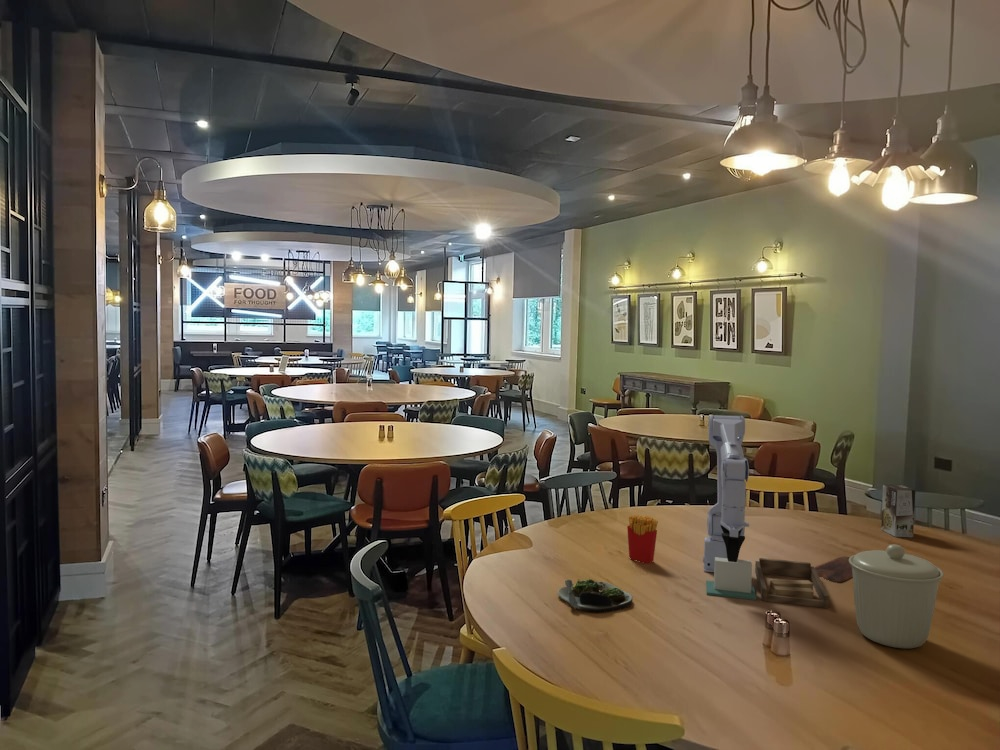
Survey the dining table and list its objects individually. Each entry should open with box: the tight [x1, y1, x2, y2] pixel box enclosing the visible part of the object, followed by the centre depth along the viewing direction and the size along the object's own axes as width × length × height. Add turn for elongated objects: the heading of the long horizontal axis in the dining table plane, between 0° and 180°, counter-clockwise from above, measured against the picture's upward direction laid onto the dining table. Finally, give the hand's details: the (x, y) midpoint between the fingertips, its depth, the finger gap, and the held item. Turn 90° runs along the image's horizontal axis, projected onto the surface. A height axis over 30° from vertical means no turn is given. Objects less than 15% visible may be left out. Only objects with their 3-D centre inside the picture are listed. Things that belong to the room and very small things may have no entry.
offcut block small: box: [773, 586, 815, 599], centre depth 176 cm, size 9×2×3 cm, turn 81°
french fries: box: [627, 514, 659, 564], centre depth 204 cm, size 9×4×13 cm, turn 50°
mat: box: [705, 580, 757, 601], centre depth 181 cm, size 12×9×1 cm
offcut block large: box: [769, 579, 814, 595], centre depth 179 cm, size 10×2×4 cm, turn 91°
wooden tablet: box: [813, 556, 853, 584], centre depth 200 cm, size 26×2×10 cm
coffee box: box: [880, 483, 917, 538], centre depth 236 cm, size 9×6×16 cm
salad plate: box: [557, 578, 633, 614], centre depth 175 cm, size 19×18×5 cm
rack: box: [754, 557, 830, 609], centre depth 183 cm, size 15×23×4 cm
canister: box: [849, 543, 945, 650], centre depth 153 cm, size 18×18×21 cm
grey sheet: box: [713, 557, 753, 593], centre depth 180 cm, size 9×3×8 cm, turn 74°
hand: (731, 556), depth 180 cm, fingers open, 7 cm apart
